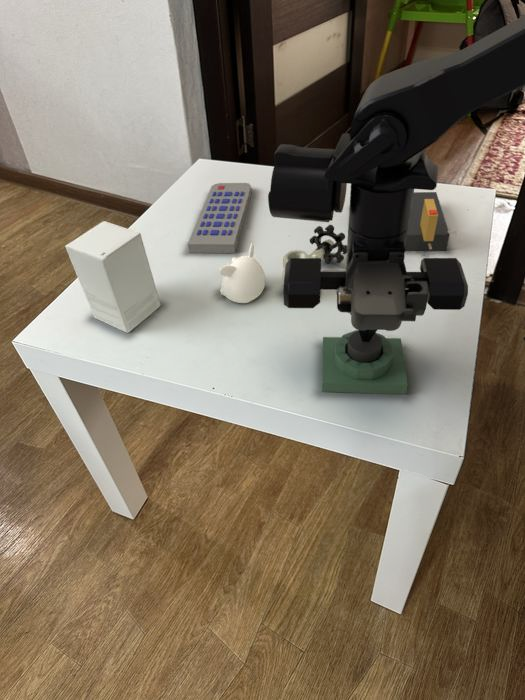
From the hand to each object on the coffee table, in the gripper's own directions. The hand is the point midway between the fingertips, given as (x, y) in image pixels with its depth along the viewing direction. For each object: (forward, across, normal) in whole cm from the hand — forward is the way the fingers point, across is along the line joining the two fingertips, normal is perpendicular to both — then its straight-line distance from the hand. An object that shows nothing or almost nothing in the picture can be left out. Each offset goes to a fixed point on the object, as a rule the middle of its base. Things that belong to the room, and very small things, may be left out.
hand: (365, 339), depth 59 cm
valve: (+5, -7, +18) cm, 20 cm away
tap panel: (+5, +8, +31) cm, 33 cm away
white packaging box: (+5, -34, +10) cm, 36 cm away
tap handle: (+2, +11, +27) cm, 29 cm away
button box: (+5, 0, 0) cm, 5 cm away
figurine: (+5, -17, +16) cm, 24 cm away
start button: (+2, 0, 0) cm, 2 cm away
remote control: (+5, -23, +37) cm, 44 cm away
